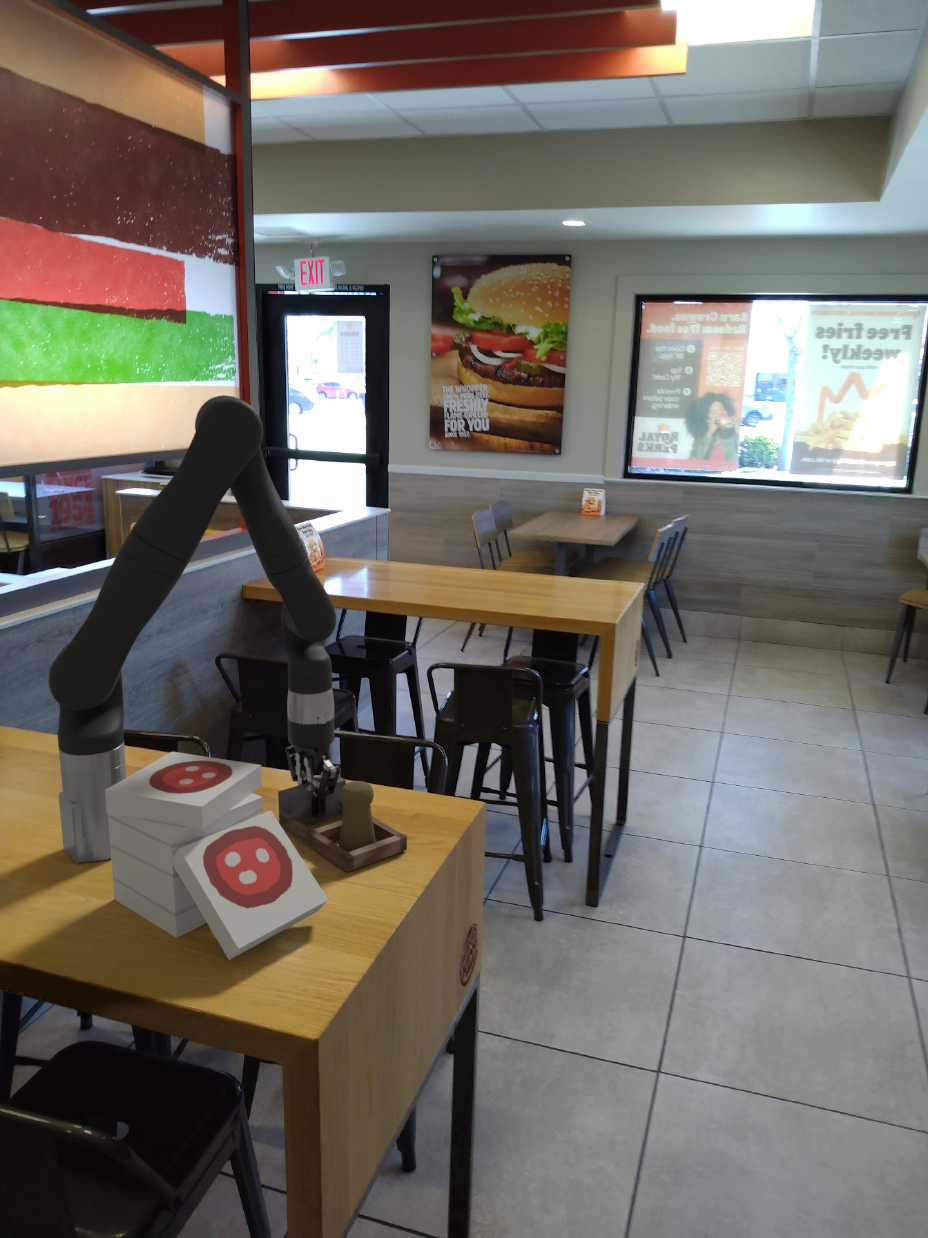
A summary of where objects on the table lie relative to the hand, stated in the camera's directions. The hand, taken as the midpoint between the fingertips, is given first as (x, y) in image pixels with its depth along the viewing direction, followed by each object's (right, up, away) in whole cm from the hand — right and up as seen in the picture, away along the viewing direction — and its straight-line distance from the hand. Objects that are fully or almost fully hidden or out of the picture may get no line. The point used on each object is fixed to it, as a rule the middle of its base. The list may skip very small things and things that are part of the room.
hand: (313, 811), depth 154 cm
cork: (+8, -4, -9) cm, 13 cm away
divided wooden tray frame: (+6, -3, -6) cm, 9 cm away
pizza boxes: (-9, -8, -27) cm, 29 cm away
